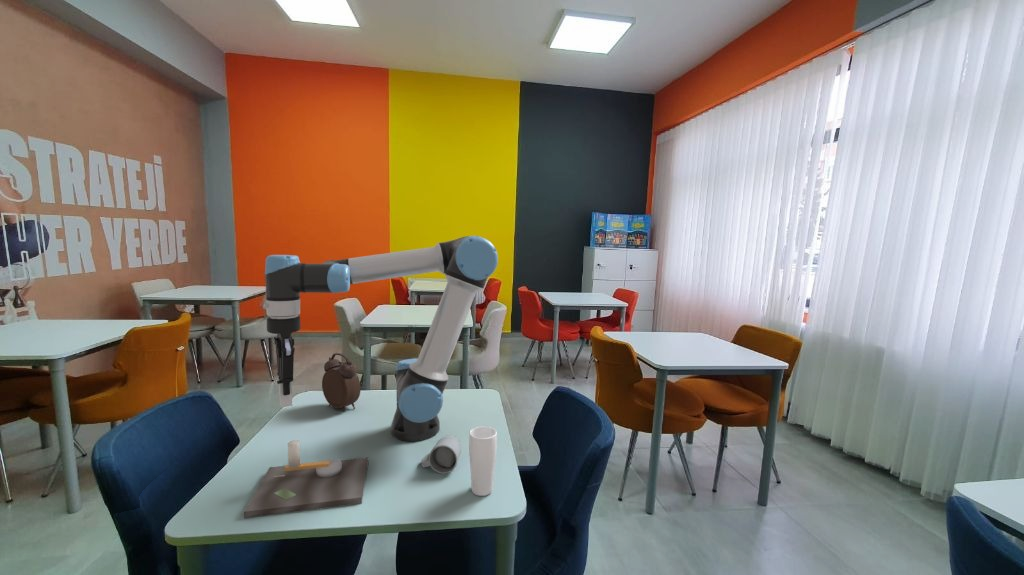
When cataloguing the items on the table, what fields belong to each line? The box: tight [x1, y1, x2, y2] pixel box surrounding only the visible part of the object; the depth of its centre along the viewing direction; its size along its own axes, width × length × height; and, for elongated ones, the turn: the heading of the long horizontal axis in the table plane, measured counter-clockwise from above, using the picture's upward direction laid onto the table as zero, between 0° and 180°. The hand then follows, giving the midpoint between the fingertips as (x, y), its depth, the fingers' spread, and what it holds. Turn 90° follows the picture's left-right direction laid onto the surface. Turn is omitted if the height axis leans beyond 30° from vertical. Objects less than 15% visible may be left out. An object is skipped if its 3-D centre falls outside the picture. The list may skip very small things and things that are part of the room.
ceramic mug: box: [420, 434, 462, 475], centre depth 112 cm, size 11×8×8 cm
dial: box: [285, 439, 342, 477], centre depth 104 cm, size 13×6×8 cm, turn 104°
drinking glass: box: [468, 426, 498, 497], centre depth 101 cm, size 7×7×15 cm
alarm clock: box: [321, 352, 362, 412], centre depth 147 cm, size 14×7×20 cm, turn 59°
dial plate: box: [243, 456, 369, 519], centre depth 101 cm, size 24×18×2 cm
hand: (285, 405), depth 108 cm, fingers closed
